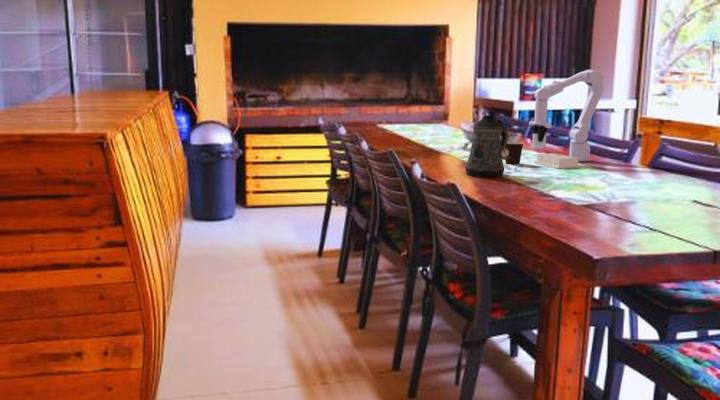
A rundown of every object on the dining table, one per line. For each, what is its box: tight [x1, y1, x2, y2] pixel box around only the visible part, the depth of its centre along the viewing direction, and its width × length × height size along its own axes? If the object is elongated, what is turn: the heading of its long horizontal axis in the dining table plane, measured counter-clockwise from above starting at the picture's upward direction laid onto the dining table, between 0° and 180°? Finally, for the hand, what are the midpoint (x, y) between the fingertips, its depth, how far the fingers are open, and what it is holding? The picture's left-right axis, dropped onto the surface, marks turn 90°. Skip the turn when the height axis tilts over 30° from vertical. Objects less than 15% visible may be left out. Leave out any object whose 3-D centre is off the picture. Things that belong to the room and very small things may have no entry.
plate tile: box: [531, 133, 547, 150], centre depth 327 cm, size 7×2×7 cm, turn 115°
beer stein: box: [464, 115, 509, 179], centre depth 288 cm, size 16×19×25 cm
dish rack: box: [534, 152, 581, 170], centre depth 315 cm, size 13×16×4 cm
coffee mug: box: [504, 141, 524, 166], centre depth 319 cm, size 12×9×10 cm
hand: (539, 141), depth 327 cm, fingers closed on plate tile, 2 cm apart
